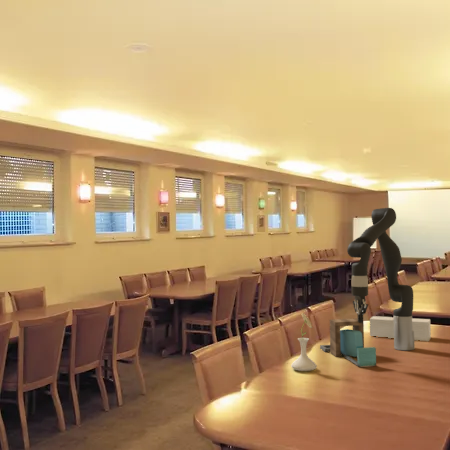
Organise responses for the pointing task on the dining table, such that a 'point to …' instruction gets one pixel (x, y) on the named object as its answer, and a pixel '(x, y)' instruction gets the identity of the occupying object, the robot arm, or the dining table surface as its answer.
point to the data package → (350, 341)
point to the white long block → (386, 328)
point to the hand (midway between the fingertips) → (360, 322)
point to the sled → (364, 356)
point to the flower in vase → (304, 352)
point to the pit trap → (325, 348)
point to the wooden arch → (335, 333)
